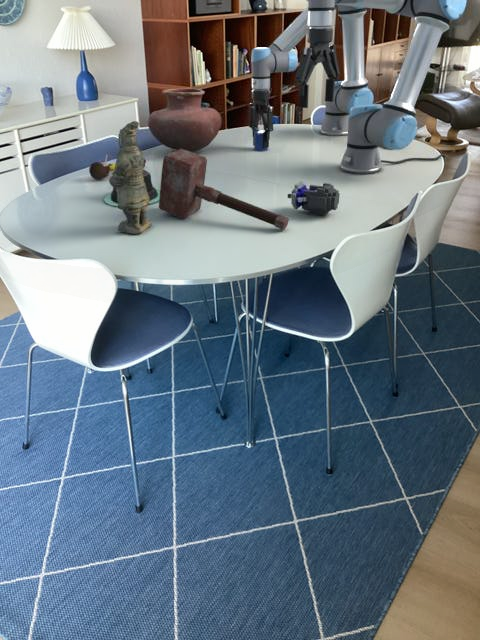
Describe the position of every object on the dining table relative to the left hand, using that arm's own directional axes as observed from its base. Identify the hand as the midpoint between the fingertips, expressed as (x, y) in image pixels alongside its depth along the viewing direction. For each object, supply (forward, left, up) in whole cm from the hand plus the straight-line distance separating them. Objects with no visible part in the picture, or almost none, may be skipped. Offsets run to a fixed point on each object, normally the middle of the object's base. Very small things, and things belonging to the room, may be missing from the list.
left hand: (260, 146), depth 241 cm
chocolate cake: (+75, +21, -1) cm, 78 cm away
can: (0, 0, -1) cm, 1 cm away
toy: (+42, +72, -1) cm, 83 cm away
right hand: (+28, +58, +27) cm, 70 cm away
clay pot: (+26, -19, -1) cm, 32 cm away
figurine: (+65, -10, -1) cm, 65 cm away
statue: (+90, +47, -1) cm, 101 cm away
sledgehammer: (+66, +59, -1) cm, 89 cm away
